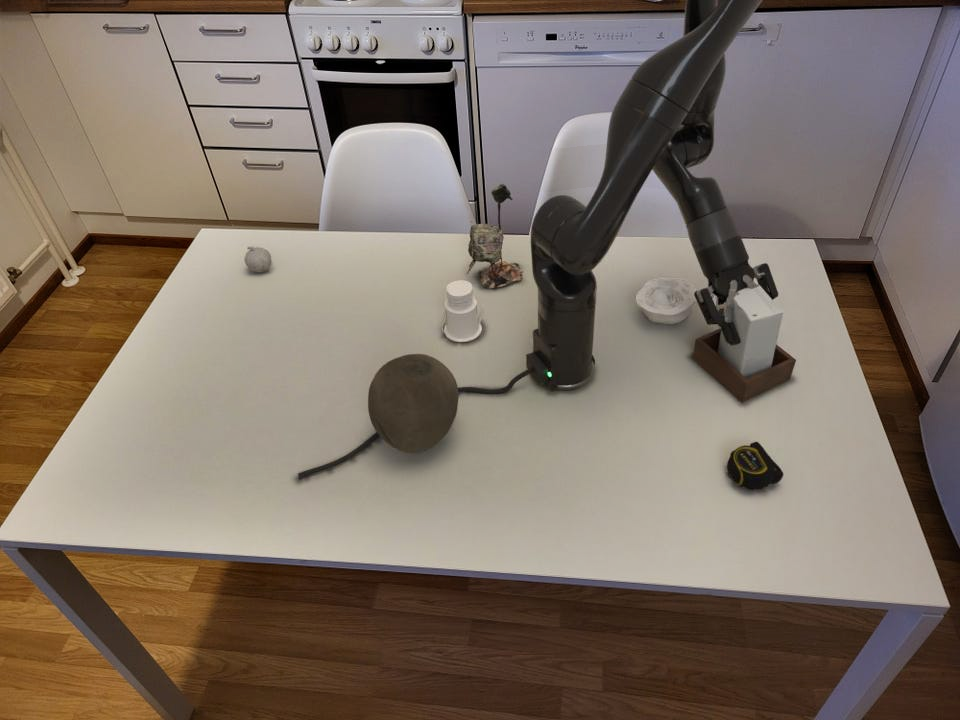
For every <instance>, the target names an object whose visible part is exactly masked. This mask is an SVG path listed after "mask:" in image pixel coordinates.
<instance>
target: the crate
mask: <svg viewBox="0 0 960 720" xmlns="http://www.w3.org/2000/svg"><path fill="white" fill-rule="evenodd" d="M720 335H721V328H720V327H719V328H718V329H715V330H713V331H711V332H709V333H706V334H704V335H702V336H700V337H697V338H695V339H694V345H693V350H692V355H691V359H692V360H694V362H695V363H696V364H698V365H699V366H700V368H702V369H703V370H704V371H706V373H708V374H709V375H710V376H711V377H712V378H713V379H715V380H716V381H717V382H718V384H720V385H721V386H722V387H724V388H725V389H726V390H727V391H728V392H729V393H730V394H731V395H733V396H734V397H735V398H736V399H737V400H738V401H739V402H740V403H741V404H743V403H745V402H746V401H749V400H751V399H753V398H755V397H757V396H759V395H761V394H763V393H765V392H767V391H769V390H772V389H774V388H775V387H778V386H780V385H781V384H784V383H786V382H787V381H789V380H791V379H792V375H793V371H794V368H795V365H796V362H797V359H796V358H795V357H793V356H792V355H791V354H790V353H788V352H787V351H786V350H784V349H783V348H782V347H781V346H779V345H778V344H777V343H776V347H775V352H774V356H773V361H772V365H771V368H769V369H767V370H765V371H763V372H761V373H759V374H757V375H755V376H753V377H751V378H748V379H747V378H745V377H744V376H743V375H742V374H741V373H740V372H738V371H737V370H736V369H735V368H734V367H733V366H731V365H730V364H729V363H728V362H727V361H726V360H724V359H723V358H722V357H721V356H720V355H719V354H717V353H718V347H719V341H720Z"/></svg>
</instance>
